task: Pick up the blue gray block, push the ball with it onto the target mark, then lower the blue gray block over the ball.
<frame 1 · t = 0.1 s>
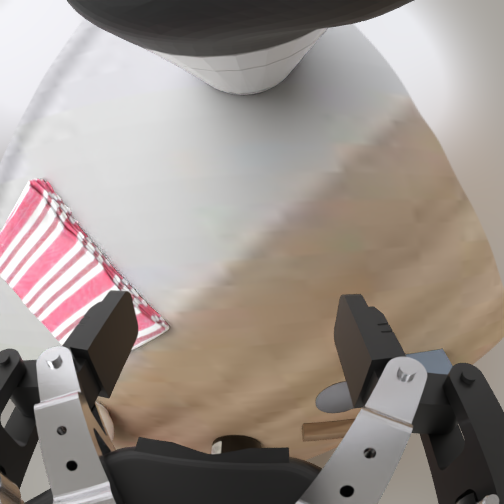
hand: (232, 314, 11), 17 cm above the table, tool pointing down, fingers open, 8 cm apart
dish towel: (69, 283, 32), on the table
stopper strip: (331, 424, 43), on the table
blue gray block: (416, 368, 37), on the table
lidded jar: (94, 407, 44), on the table
target mark: (341, 397, 39), on the table
ink bottle: (237, 443, 46), on the table
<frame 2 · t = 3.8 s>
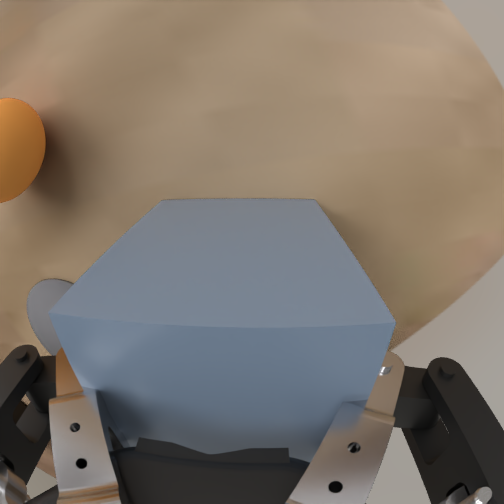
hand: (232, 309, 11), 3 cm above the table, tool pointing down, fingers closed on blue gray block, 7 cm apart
blue gray block: (238, 268, 14), on the table, touching gripper
target mark: (73, 332, 17), on the table
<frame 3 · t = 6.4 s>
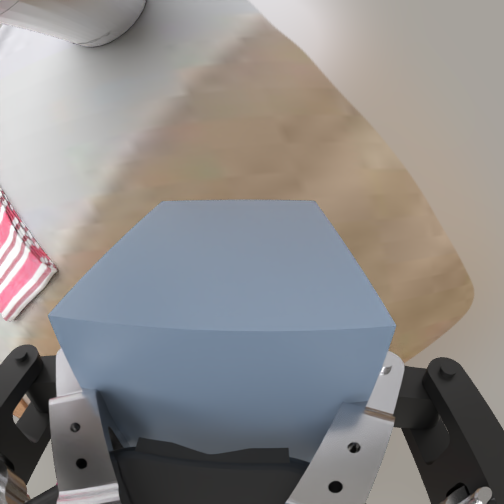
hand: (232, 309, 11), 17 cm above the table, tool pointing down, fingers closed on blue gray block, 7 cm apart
blue gray block: (238, 269, 14), point 14 cm above the table, touching gripper
lidded jar: (24, 371, 40), on the table
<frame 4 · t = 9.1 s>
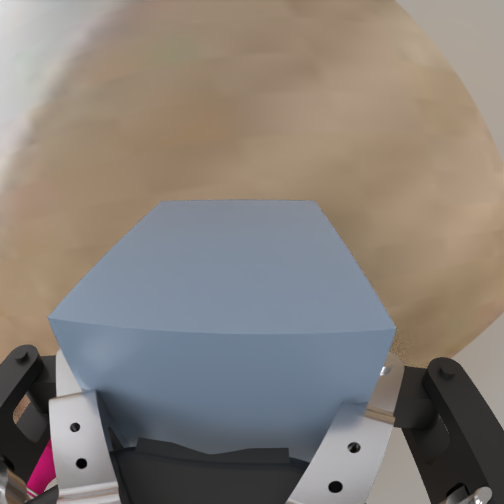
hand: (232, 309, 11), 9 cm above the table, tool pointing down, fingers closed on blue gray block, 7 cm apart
blue gray block: (238, 269, 14), point 5 cm above the table, touching gripper
pepper mill: (55, 434, 33), on the table
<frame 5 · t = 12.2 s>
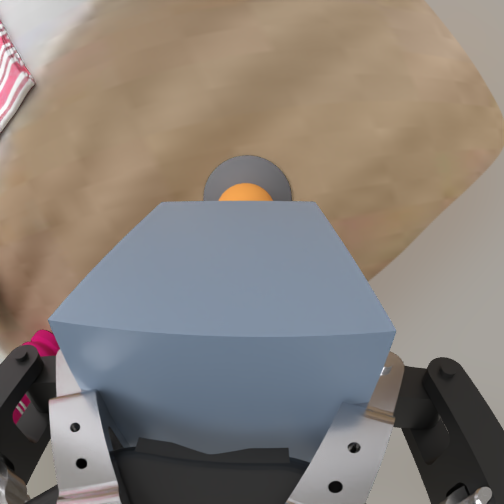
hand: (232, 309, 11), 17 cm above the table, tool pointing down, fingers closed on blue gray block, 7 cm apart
ball: (245, 212, 25), on the table
blue gray block: (238, 270, 14), point 14 cm above the table, touching gripper
target mark: (247, 198, 27), on the table
pepper mill: (52, 344, 36), on the table
when the fingers open (4 cm above the table, at t = 15.2 s): blue gray block stays where it is, on the table.
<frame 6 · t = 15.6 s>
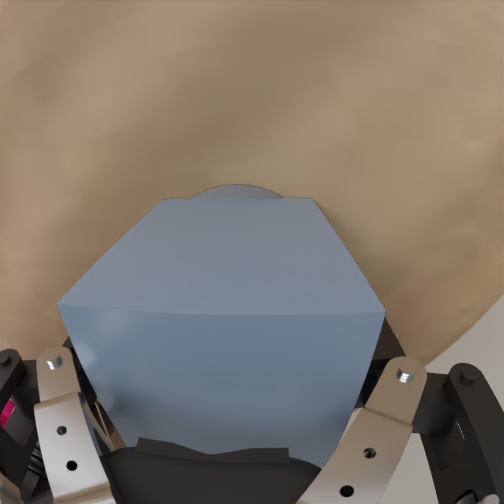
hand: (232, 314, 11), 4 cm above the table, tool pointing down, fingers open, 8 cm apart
blue gray block: (238, 265, 15), on the table
target mark: (238, 265, 15), on the table
pepper mill: (9, 406, 24), on the table
ink bottle: (72, 404, 21), on the table
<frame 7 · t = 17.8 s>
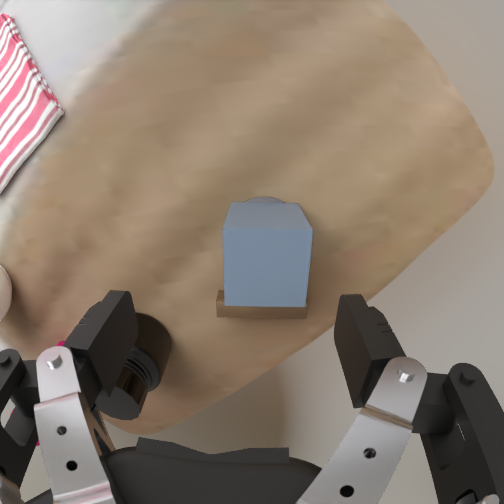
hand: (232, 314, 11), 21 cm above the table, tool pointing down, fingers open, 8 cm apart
dish towel: (2, 100, 26), on the table
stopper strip: (261, 298, 35), on the table
blue gray block: (264, 233, 32), on the table
lidded jar: (1, 279, 35), on the table
ink bottle: (142, 336, 38), on the table
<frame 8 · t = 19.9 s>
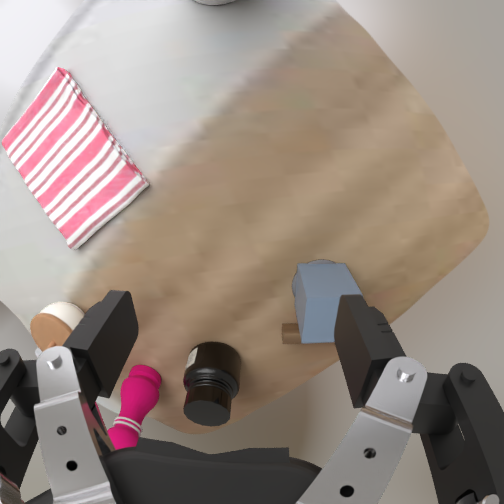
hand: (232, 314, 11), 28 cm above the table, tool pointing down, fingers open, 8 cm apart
dish towel: (69, 158, 36), on the table
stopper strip: (313, 328, 46), on the table
blue gray block: (319, 284, 43), on the table
lidded jar: (74, 316, 47), on the table
pepper mill: (146, 374, 52), on the table
ink bottle: (215, 358, 49), on the table
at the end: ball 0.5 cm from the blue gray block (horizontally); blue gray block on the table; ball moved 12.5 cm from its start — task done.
